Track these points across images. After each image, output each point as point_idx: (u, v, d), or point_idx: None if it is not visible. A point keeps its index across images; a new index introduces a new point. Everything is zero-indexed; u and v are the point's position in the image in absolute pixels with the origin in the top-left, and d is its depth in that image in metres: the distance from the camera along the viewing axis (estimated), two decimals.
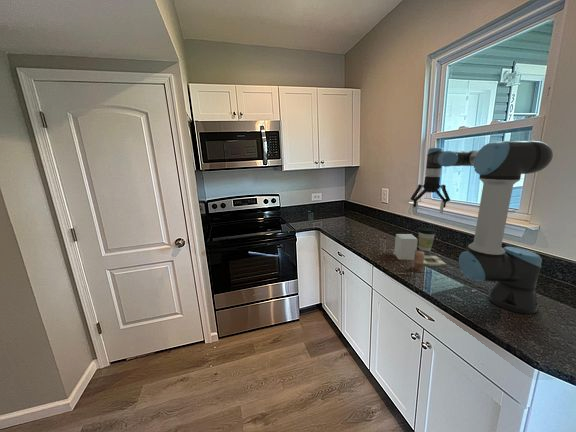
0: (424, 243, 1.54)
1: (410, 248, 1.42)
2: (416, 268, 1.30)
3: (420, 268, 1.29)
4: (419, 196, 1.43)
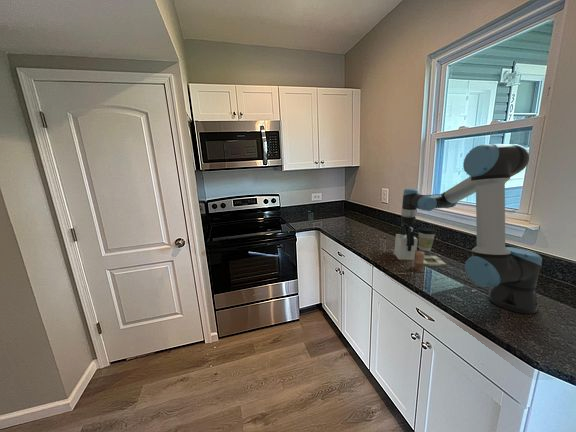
0: (424, 243, 1.54)
1: None
2: (416, 268, 1.30)
3: (420, 268, 1.29)
4: None
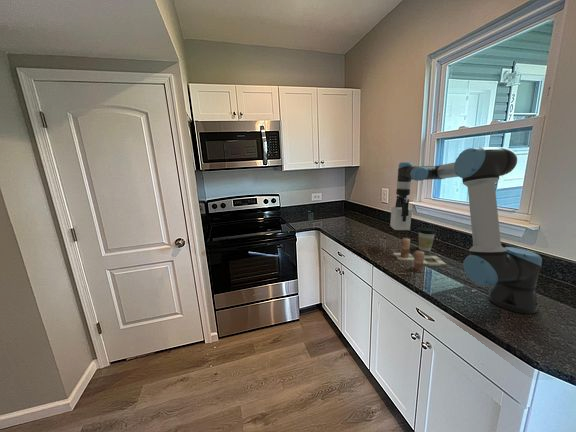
0: (424, 243, 1.54)
1: None
2: (416, 268, 1.30)
3: (420, 268, 1.29)
4: None
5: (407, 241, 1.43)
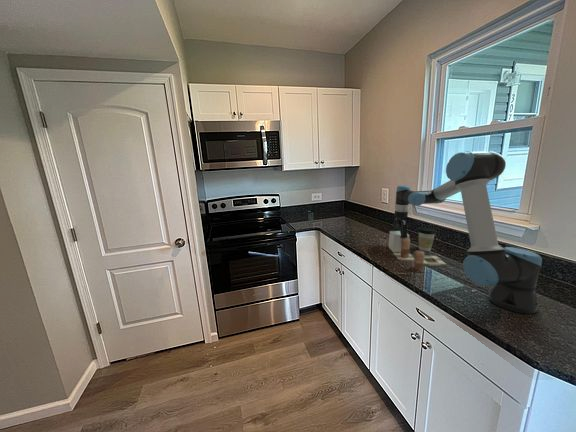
0: (424, 243, 1.54)
1: None
2: (416, 268, 1.30)
3: (420, 268, 1.29)
4: (394, 226, 1.61)
5: (407, 241, 1.43)
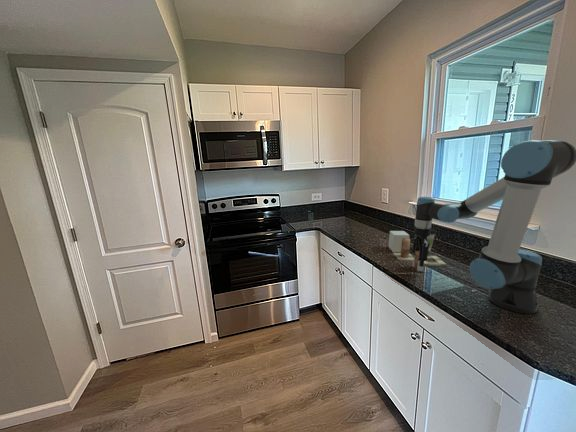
0: None
1: None
2: (416, 268, 1.30)
3: None
4: (415, 249, 1.32)
5: (407, 241, 1.43)
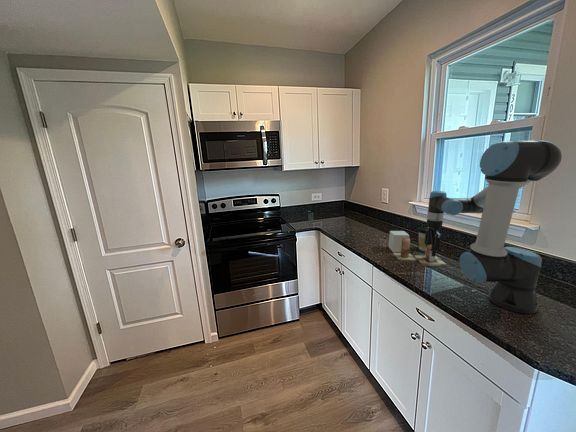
0: (424, 243, 1.54)
1: None
2: (428, 261, 1.39)
3: None
4: (427, 240, 1.41)
5: (407, 241, 1.43)
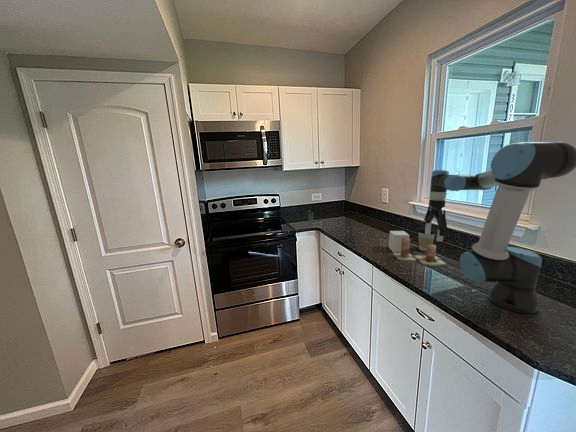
0: (424, 243, 1.54)
1: None
2: (428, 261, 1.39)
3: (432, 260, 1.38)
4: (427, 218, 1.40)
5: (407, 241, 1.43)
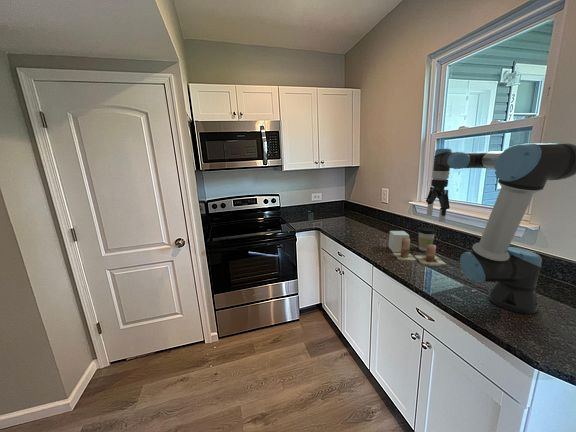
0: (424, 243, 1.54)
1: None
2: (428, 260, 1.39)
3: (432, 260, 1.38)
4: (429, 199, 1.38)
5: (407, 241, 1.43)
